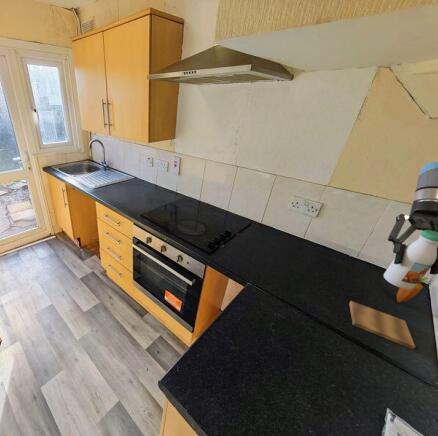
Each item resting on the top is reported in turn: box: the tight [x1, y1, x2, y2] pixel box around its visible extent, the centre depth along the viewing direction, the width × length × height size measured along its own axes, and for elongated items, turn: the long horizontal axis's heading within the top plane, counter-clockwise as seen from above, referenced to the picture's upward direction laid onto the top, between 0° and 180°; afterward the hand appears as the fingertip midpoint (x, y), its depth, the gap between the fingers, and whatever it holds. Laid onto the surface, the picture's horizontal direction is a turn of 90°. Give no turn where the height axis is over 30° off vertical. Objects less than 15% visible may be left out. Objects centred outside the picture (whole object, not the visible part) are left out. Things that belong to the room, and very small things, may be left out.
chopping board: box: [348, 300, 416, 350], centre depth 83 cm, size 16×12×2 cm
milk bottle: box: [383, 230, 438, 289], centre depth 74 cm, size 8×8×20 cm
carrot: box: [396, 276, 428, 304], centre depth 89 cm, size 5×5×15 cm
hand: (415, 268), depth 72 cm, fingers closed on milk bottle, 8 cm apart
